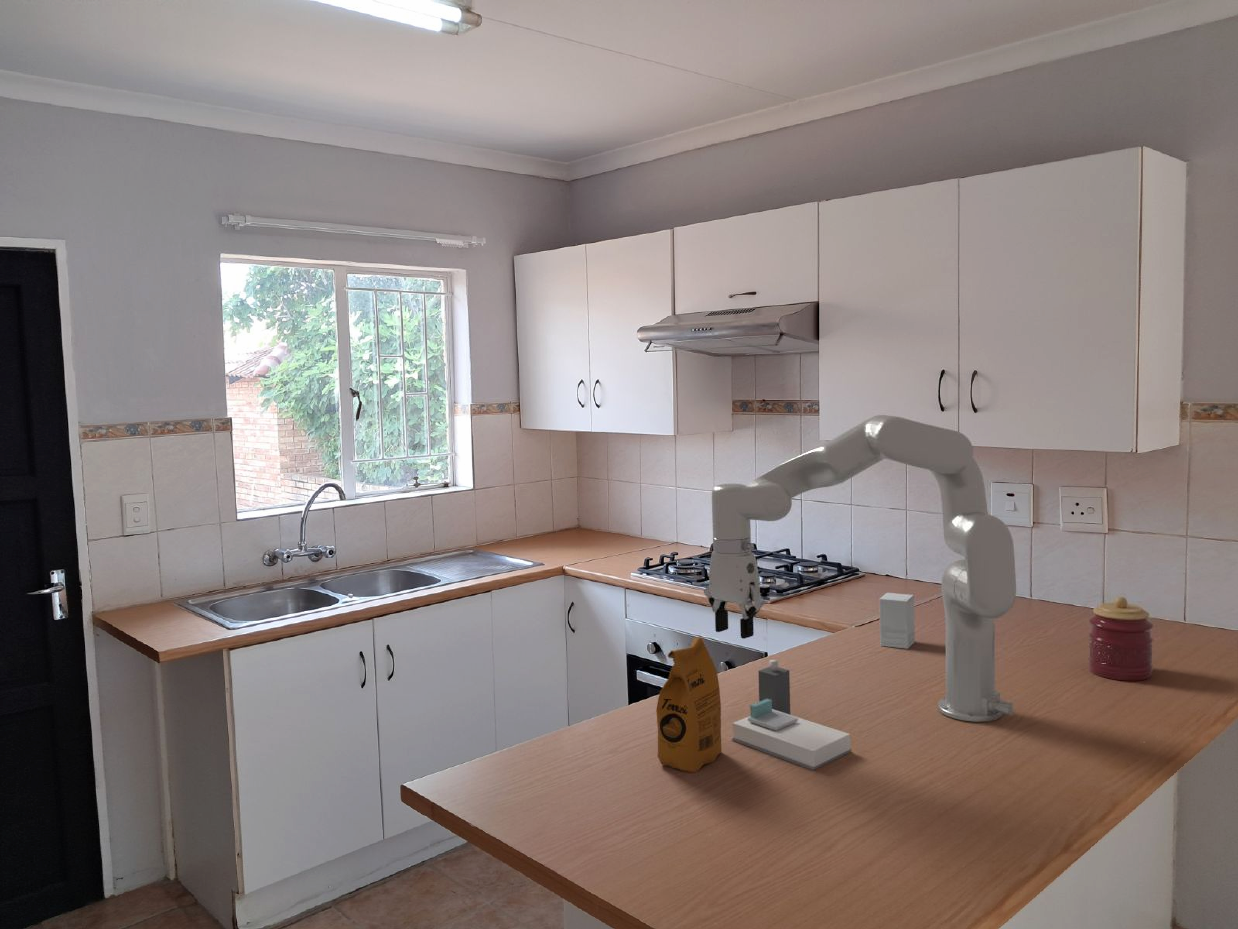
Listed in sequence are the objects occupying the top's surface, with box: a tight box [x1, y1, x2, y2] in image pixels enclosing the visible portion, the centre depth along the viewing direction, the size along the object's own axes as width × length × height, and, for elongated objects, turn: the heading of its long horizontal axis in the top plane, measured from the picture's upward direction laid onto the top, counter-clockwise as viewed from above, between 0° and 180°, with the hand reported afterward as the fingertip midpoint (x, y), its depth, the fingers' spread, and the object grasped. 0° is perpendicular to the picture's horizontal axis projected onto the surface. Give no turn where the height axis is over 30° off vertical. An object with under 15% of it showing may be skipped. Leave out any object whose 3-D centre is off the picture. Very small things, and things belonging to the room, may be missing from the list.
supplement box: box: [878, 592, 916, 650], centre depth 238 cm, size 7×7×13 cm
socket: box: [731, 709, 852, 771], centre depth 176 cm, size 20×12×4 cm, turn 41°
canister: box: [1087, 596, 1155, 682], centre depth 209 cm, size 13×13×18 cm
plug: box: [758, 659, 791, 715], centre depth 191 cm, size 4×4×12 cm
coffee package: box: [655, 636, 722, 773], centre depth 171 cm, size 10×12×22 cm
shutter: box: [748, 699, 799, 731], centre depth 179 cm, size 7×7×3 cm
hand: (734, 633), depth 185 cm, fingers open, 6 cm apart
